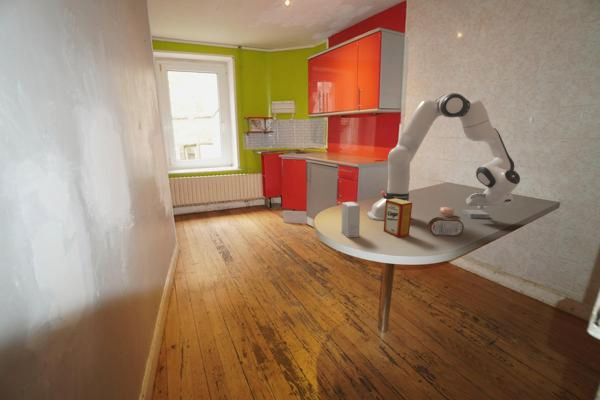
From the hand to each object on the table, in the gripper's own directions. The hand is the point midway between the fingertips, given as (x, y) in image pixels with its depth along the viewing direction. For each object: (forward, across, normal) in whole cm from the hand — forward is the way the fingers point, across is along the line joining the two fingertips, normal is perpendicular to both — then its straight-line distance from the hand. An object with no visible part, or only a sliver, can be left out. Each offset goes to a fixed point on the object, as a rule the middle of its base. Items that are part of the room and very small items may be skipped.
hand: (480, 207), depth 156 cm
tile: (+3, 0, -4) cm, 5 cm away
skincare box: (-18, -75, -26) cm, 81 cm away
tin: (-16, -31, -25) cm, 43 cm away
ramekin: (+7, -16, -1) cm, 18 cm away
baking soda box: (-16, -53, -24) cm, 60 cm away
